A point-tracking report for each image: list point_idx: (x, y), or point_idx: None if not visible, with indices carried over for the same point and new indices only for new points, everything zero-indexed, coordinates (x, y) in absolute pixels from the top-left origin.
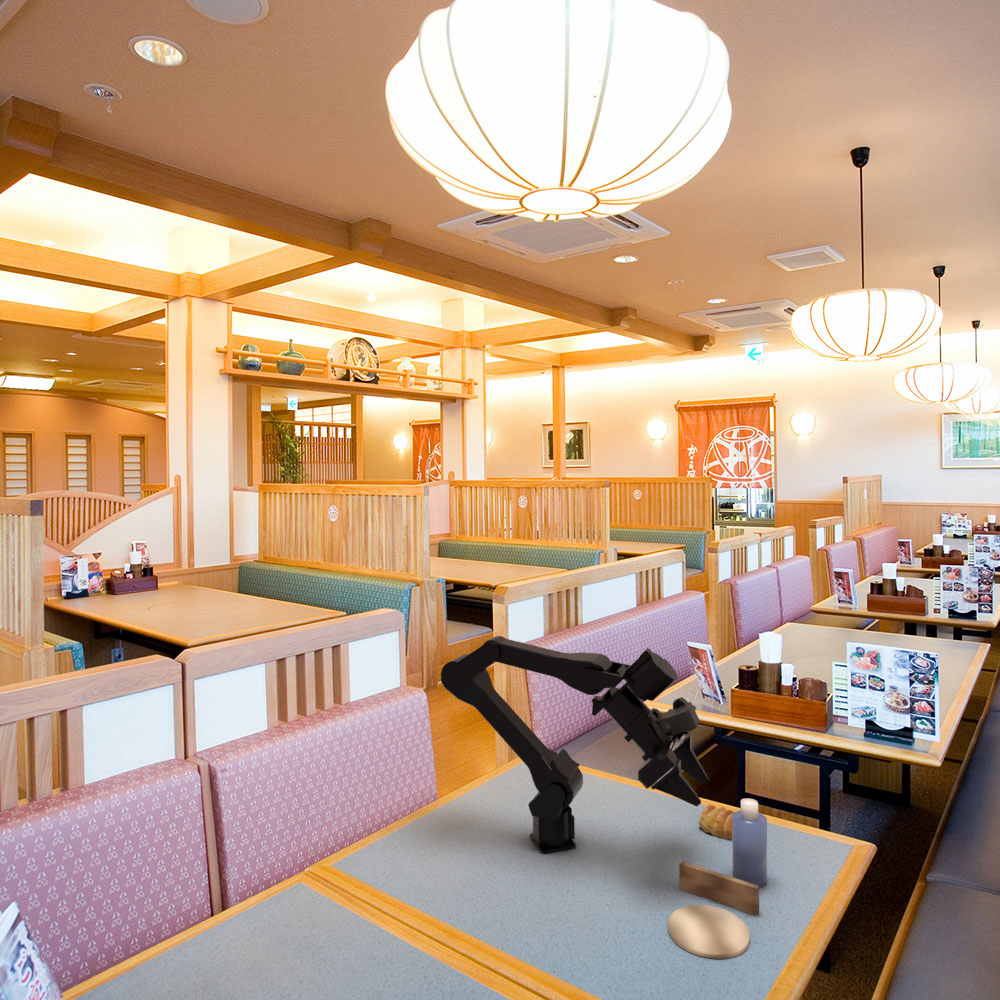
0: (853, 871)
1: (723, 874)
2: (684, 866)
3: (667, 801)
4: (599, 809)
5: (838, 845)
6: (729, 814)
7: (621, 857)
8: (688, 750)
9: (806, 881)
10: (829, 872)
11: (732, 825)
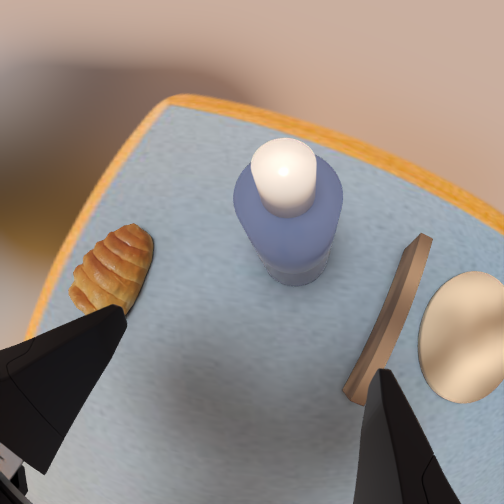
0: (239, 105)
1: (397, 304)
2: None
3: None
4: (83, 479)
5: (167, 118)
6: (99, 262)
7: (242, 490)
8: (2, 389)
9: None
10: (246, 130)
11: (289, 255)
